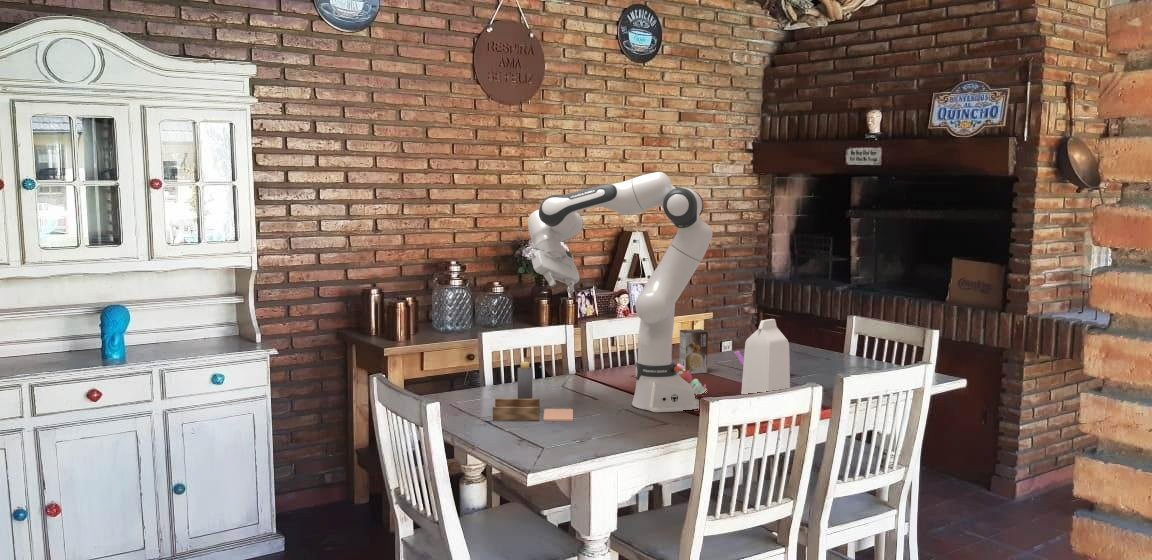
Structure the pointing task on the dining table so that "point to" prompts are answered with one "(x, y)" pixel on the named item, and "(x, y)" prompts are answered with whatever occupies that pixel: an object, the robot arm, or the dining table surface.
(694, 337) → the coffee box
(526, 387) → the grey tall block
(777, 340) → the milk
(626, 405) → the dining table surface
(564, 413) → the terracotta tile
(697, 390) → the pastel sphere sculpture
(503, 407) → the guide channel
